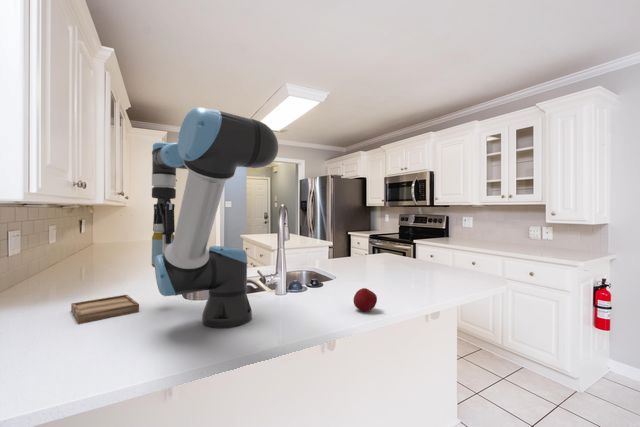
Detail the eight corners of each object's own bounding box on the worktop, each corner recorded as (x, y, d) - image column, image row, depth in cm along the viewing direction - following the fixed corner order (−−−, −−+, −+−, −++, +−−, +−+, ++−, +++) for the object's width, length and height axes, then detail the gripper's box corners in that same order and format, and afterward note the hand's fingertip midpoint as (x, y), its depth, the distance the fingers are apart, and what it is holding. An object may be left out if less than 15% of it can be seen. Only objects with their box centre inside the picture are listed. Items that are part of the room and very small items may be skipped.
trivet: (138, 311, 100) (139, 304, 100) (78, 324, 88) (78, 315, 88) (126, 301, 111) (126, 294, 111) (71, 311, 99) (71, 303, 99)
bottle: (177, 264, 107) (178, 223, 107) (166, 268, 100) (166, 224, 100) (160, 264, 108) (160, 223, 108) (146, 267, 101) (147, 224, 101)
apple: (368, 316, 99) (369, 292, 99) (349, 310, 104) (349, 288, 104) (380, 311, 104) (380, 288, 104) (361, 306, 110) (361, 284, 110)
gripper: (186, 186, 100) (185, 254, 100) (165, 189, 113) (164, 248, 113) (162, 184, 94) (161, 256, 94) (143, 188, 108) (142, 250, 108)
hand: (163, 251), depth 104 cm, fingers closed on bottle, 7 cm apart
